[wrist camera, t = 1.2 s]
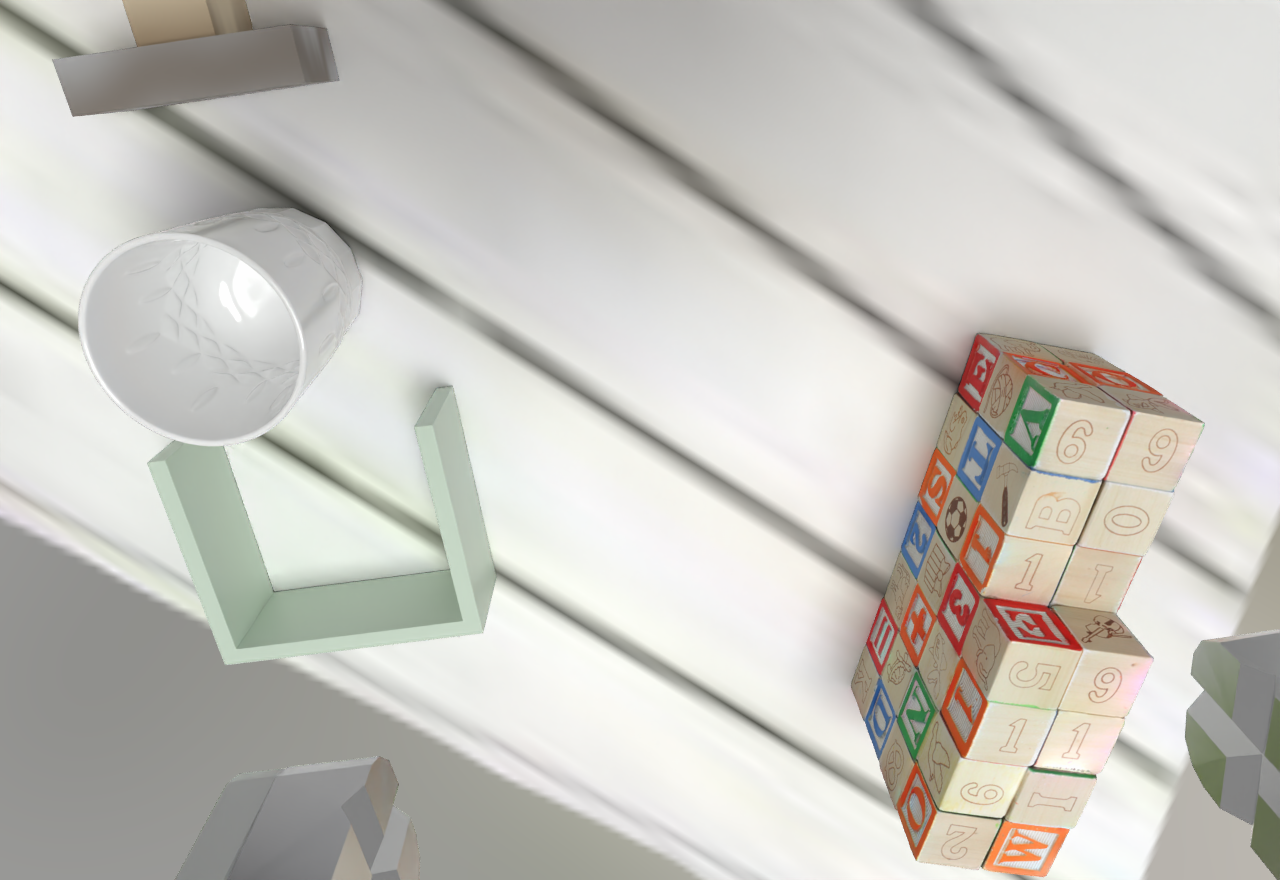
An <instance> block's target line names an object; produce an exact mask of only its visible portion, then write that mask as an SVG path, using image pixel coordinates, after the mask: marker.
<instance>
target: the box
mask: <svg viewBox="0 0 1280 880" xmlns="http://www.w3.org/2000/svg"><path fill="white" fill-rule="evenodd" d="M414 429H415V432H416V436H417V440H418V444H419V448H420V452H421V456H422V460H423V464H424V468H425V472H426V476H427V480H428V484H429V488H430V492H431V496H432V500H433V504H434V508H435V512H436V516H437V520H438V524H439V528H440V532H441V536H442V540H443V544H444V548H445V552H446V556H447V560H448V563H449V567H450V570H444V571H436V572H429V573H421V574H413V575H405V576H397V577H389V578H381V579H373V580H366V581H358V582H350V583H342V584H334V585H326V586H318V587H310V588H303V589H295V590H287V591H279V592H274V591H273V588H272V586H271V583H270V580H269V577H268V574H267V571H266V568H265V565H264V562H263V560H262V557H261V554H260V551H259V548H258V545H257V542H256V539H255V536H254V534H253V531H252V528H251V525H250V522H249V519H248V516H247V513H246V510H245V508H244V505H243V502H242V499H241V496H240V493H239V490H238V487H237V484H236V482H235V479H234V476H233V473H232V470H231V467H230V464H229V461H228V458H227V456H226V453H225V450H224V447H223V446H198V445H192V444H187V443H182V442H179V441H175V440H174V441H172V442H171V443H170V444H169V445H168V446H167V447H165V448H164V449H163V450H162V451H161V452H159V453H158V454H157V455H156V456H155V457H154V458H152V459H151V460H150V461H149V462H148V463H147V464H148V466H149V469H150V471H151V474H152V477H153V479H154V482H155V484H156V487H157V490H158V492H159V495H160V497H161V500H162V503H163V505H164V508H165V510H166V513H167V516H168V518H169V521H170V523H171V526H172V529H173V531H174V534H175V536H176V539H177V541H178V544H179V547H180V549H181V552H182V554H183V557H184V560H185V562H186V565H187V567H188V570H189V573H190V575H191V578H192V580H193V583H194V586H195V588H196V591H197V593H198V596H199V599H200V601H201V604H202V606H203V609H204V611H205V614H206V617H207V619H208V622H209V624H210V627H211V630H212V632H213V635H214V637H215V640H216V643H217V645H218V648H219V650H220V653H221V656H222V658H223V661H224V663H225V665H230V664H238V663H246V662H254V661H262V660H270V659H278V658H286V657H295V656H303V655H311V654H319V653H327V652H335V651H343V650H351V649H359V648H367V647H375V646H383V645H391V644H399V643H407V642H415V641H423V640H431V639H439V638H447V637H455V636H463V635H471V634H479V633H483V631H484V627H485V623H486V619H487V615H488V610H489V606H490V602H491V598H492V594H493V590H494V585H495V581H496V573H495V569H494V564H493V560H492V556H491V551H490V547H489V542H488V538H487V534H486V529H485V525H484V521H483V516H482V512H481V507H480V503H479V499H478V494H477V490H476V486H475V481H474V477H473V473H472V468H471V464H470V459H469V455H468V451H467V446H466V442H465V438H464V433H463V429H462V425H461V420H460V416H459V411H458V407H457V403H456V398H455V394H454V390H453V386H450V387H442V388H436V390H435V392H434V393H433V395H432V397H431V399H430V400H429V402H428V404H427V406H426V408H425V409H424V411H423V413H422V415H421V416H420V418H419V420H418V422H417V423H416V425H415V427H414Z"/></svg>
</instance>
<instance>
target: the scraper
mask: <svg viewBox="0 0 1280 880" xmlns="http://www.w3.org/2000/svg"><path fill="white" fill-rule="evenodd" d="M122 1H123V4H124V7H125V10H126V13H127V16H128V19H129V23H130V26H131V29H132V32H133V35H134V38H135V41H136V44H137V47H135V48H128V49H121V50H114V51H108V52H101V53H94V54H87V55H81V56H74V57H67V58H60V59H54V60H53V63H54V66H55V69H56V72H57V74H58V77H59V80H60V83H61V85H62V88H63V91H64V94H65V96H66V99H67V102H68V105H69V108H70V110H71V113H72V116H73V117H74V116H84V115H95V114H105V113H115V112H125V111H134V110H141V109H148V108H155V107H162V106H168V105H175V104H182V103H189V102H196V101H203V100H210V99H216V98H223V97H230V96H237V95H244V94H251V93H257V92H264V91H271V90H278V89H285V88H292V87H299V86H305V85H312V84H319V83H326V82H333V81H340V80H339V76H338V72H337V68H336V64H335V60H334V56H333V52H332V47H331V43H330V39H329V35H328V31H327V29H325V28H317V27H308V26H300V25H291V24H290V25H283V26H276V27H269V28H263V29H256V30H253V27H252V24H251V20H250V16H249V13H248V9H247V5H246V2H245V0H122Z"/></svg>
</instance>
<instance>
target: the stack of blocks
mask: <svg viewBox="0 0 1280 880" xmlns="http://www.w3.org/2000/svg"><path fill="white" fill-rule="evenodd" d="M1204 424H1205V423H1204V422H1202V421H1201V420H1199V419H1197V418H1196V417H1194V416H1193V415H1191V414H1190V413H1188V412H1187V411H1185V410H1184V409H1182V408H1181V407H1179V406H1177V405H1176V404H1174V403H1173V402H1171V401H1170V400H1168V399H1167V398H1165V397H1163V395H1162V394H1161V393H1159V392H1158V391H1156V390H1155V389H1153V388H1152V387H1150V386H1148V385H1147V384H1145V383H1143V382H1142V381H1140V380H1138V379H1137V378H1135V377H1133V376H1132V375H1130V374H1128V373H1125V371H1123V370H1121V369H1119V368H1118V367H1116V366H1114V365H1113V364H1111V363H1109V362H1108V361H1106V360H1104V359H1103V358H1101V357H1099V356H1097V355H1095V354H1093V353H1087V352H1081V351H1076V350H1070V349H1065V348H1059V347H1054V346H1049V345H1043V344H1037V343H1034V342H1029V341H1024V340H1019V339H1014V338H1008V337H1002V336H996V335H989V334H981V333H980V334H977V335H976V338H975V341H974V344H973V347H972V350H971V353H970V356H969V359H968V362H967V365H966V368H965V371H964V374H963V376H962V380H961V383H960V385H959V388H958V393H956V394H955V395H954V397H953V400H952V403H951V405H950V408H949V411H948V414H947V417H946V419H945V422H944V425H943V428H942V431H941V434H940V437H939V440H938V443H937V448H936V449H935V451H934V453H933V456H932V458H931V461H930V464H929V467H928V470H927V472H926V475H925V478H924V481H923V483H922V486H921V489H920V492H919V495H918V502H917V504H916V507H915V510H914V513H913V516H912V519H911V521H910V524H909V527H908V530H907V533H906V536H905V538H904V541H903V544H902V547H901V552H900V554H899V556H898V559H897V562H896V565H895V568H894V570H893V573H892V576H891V579H890V582H889V585H888V587H887V590H886V593H885V596H884V598H883V599H882V600H881V604H880V606H879V609H878V611H877V614H876V617H875V620H874V623H873V626H872V628H871V631H870V634H869V637H868V640H867V642H866V645H865V647H864V649H863V652H862V655H861V658H860V660H859V663H858V666H857V669H856V672H855V674H854V677H853V680H852V683H851V688H852V691H853V694H854V696H855V699H856V701H857V704H858V707H859V710H860V713H861V715H862V718H863V720H864V721H865V723H866V727H867V730H868V733H869V735H870V738H871V740H872V743H873V746H874V749H875V752H876V755H877V758H878V760H879V763H880V769H881V772H882V774H883V778H884V780H885V783H886V786H887V788H888V791H889V794H890V797H891V799H892V802H893V805H894V807H895V809H896V810H898V813H899V816H900V819H901V822H902V825H903V828H904V831H905V833H906V836H907V839H908V841H909V845H910V848H911V850H912V853H913V855H914V857H915V859H916V861H918V862H921V863H930V864H938V865H945V866H953V867H960V868H966V869H972V870H979V868H980V866H981V867H982V868H983V869H984V870H988V871H992V872H1001V873H1010V874H1019V875H1029V876H1039V877H1044V876H1047V874H1048V872H1049V870H1050V868H1051V866H1052V864H1053V862H1054V860H1055V858H1056V856H1057V854H1058V852H1059V850H1060V848H1061V847H1062V845H1063V842H1064V840H1065V838H1066V836H1067V834H1068V832H1069V829H1072V828H1074V827H1075V826H1076V824H1077V821H1078V819H1079V817H1080V816H1081V814H1082V812H1083V809H1084V807H1085V805H1086V803H1087V801H1088V799H1089V797H1090V795H1091V793H1092V791H1093V788H1094V786H1095V784H1096V782H1097V777H1096V774H1098V773H1100V772H1101V771H1102V770H1103V768H1104V766H1105V764H1106V762H1107V760H1108V758H1109V755H1110V753H1111V751H1112V749H1113V747H1114V745H1115V743H1116V740H1117V738H1118V736H1119V734H1120V732H1121V730H1122V728H1123V726H1124V723H1125V718H1124V717H1125V716H1127V715H1128V713H1129V711H1130V709H1131V707H1132V705H1133V703H1134V701H1135V699H1136V696H1137V694H1138V692H1139V690H1140V688H1141V686H1142V684H1143V682H1144V680H1145V678H1146V676H1147V673H1148V671H1149V669H1150V667H1151V665H1152V663H1153V659H1154V658H1153V657H1152V656H1151V655H1150V654H1149V653H1148V651H1147V650H1146V649H1145V648H1144V647H1143V645H1142V644H1141V643H1140V642H1139V641H1138V639H1137V638H1136V637H1135V636H1134V635H1133V634H1132V632H1131V631H1130V630H1129V629H1128V628H1127V627H1126V625H1125V624H1124V623H1123V622H1122V621H1121V619H1120V618H1119V617H1118V616H1117V612H1118V610H1119V608H1120V606H1121V603H1122V601H1123V599H1124V597H1125V595H1126V592H1127V590H1128V588H1129V586H1130V584H1131V582H1132V579H1133V577H1134V575H1135V573H1136V571H1137V569H1138V567H1139V565H1140V562H1141V560H1142V557H1143V556H1144V555H1146V553H1147V552H1148V549H1149V547H1150V545H1151V543H1152V541H1153V539H1154V537H1155V535H1156V533H1157V530H1158V528H1159V526H1160V524H1161V522H1162V520H1163V518H1164V516H1165V513H1166V511H1167V509H1168V507H1169V505H1170V503H1171V501H1172V499H1173V496H1174V493H1175V492H1174V489H1175V487H1176V486H1177V483H1178V481H1179V479H1180V477H1181V475H1182V473H1183V471H1184V469H1185V466H1186V464H1187V462H1188V460H1189V458H1190V456H1191V454H1192V453H1193V450H1194V447H1195V445H1196V443H1197V441H1198V439H1199V437H1200V435H1201V433H1202V431H1203V429H1204Z"/></svg>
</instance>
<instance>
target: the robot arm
mask: <svg viewBox="0 0 1280 880" xmlns="http://www.w3.org/2000/svg"><path fill="white" fill-rule="evenodd" d="M1191 675H1192V676H1193V678H1194V679H1195V680H1196V681H1197V682H1198V683H1199V684H1200V685H1201V687H1202V688H1203V689H1204V691H1203V692H1202V693H1201V695H1200V696H1199V697H1198V698H1197V699H1196V700H1195V701H1194V703H1193V704H1192V705H1191V706H1190V707H1189V708H1188V709H1187V712H1186V728H1185V740H1186V744H1187V747H1188V751H1189V755H1190V759H1191V763H1192V766H1193V768H1194V770H1195V772H1196V773H1197V776H1198V777H1199V779H1200V781H1201V783H1202V785H1203V787H1204V788H1205V790H1206V791H1207V792H1208V793H1209V794H1210V796H1211V797H1212V799H1213V800H1214V801H1215V803H1216V804H1217V805H1218V806H1219V808H1221V809H1222V810H1224V811H1226V812H1228V813H1230V814H1232V815H1234V816H1236V817H1237V818H1239V819H1241V820H1243V821H1245V822H1247V823H1249V824H1251V825H1252V830H1251V846H1250V847H1251V848H1252V849H1253V850H1254V852H1255V853H1256V854H1257V855H1258V857H1259V858H1260V859H1261V860H1262V862H1263V863H1264V864H1265V865H1266V867H1267V868H1268V869H1269V870H1270V871H1271V873H1272V874H1273V875H1274V877H1275V878H1276V879H1277V880H1280V629H1278V630H1271V631H1264V632H1257V633H1251V634H1244V635H1237V636H1230V637H1223V638H1216V639H1210V640H1203V641H1201V642H1200V644H1199V646H1198V647H1197V649H1196V650H1195V652H1194V654H1193V661H1192V669H1191ZM398 786H399V784H398V781H397V779H396V776H395V774H394V771H393V769H392V766H391V764H390V761H389V760H387V759H385V758H383V757H380V756H378V757H370V758H362V759H352V760H344V761H335V762H326V763H318V764H309V765H301V766H292V767H287V768H286V769H275V770H267V771H257V772H249V773H240V774H239V775H237V776H236V777H235V778H233V779H232V780H231V781H229V782H228V783H227V784H226V786H225V788H224V789H223V791H222V793H221V795H220V797H219V799H218V801H217V802H216V804H215V806H214V808H213V810H212V812H211V814H210V815H209V817H208V819H207V821H206V823H205V825H204V827H203V828H202V830H201V832H200V834H199V836H198V838H197V839H196V841H195V843H194V845H193V847H192V849H191V851H190V853H189V854H188V856H187V858H186V860H185V862H184V864H183V865H182V867H181V869H180V871H179V873H178V875H177V877H176V878H175V880H419V875H420V854H419V848H418V842H417V836H416V832H415V829H414V826H413V824H412V821H411V818H410V817H409V816H408V815H406V814H405V813H404V812H402V811H401V810H399V809H398V808H397V807H395V806H394V805H393V804H394V800H395V796H396V793H397V790H398Z"/></svg>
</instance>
